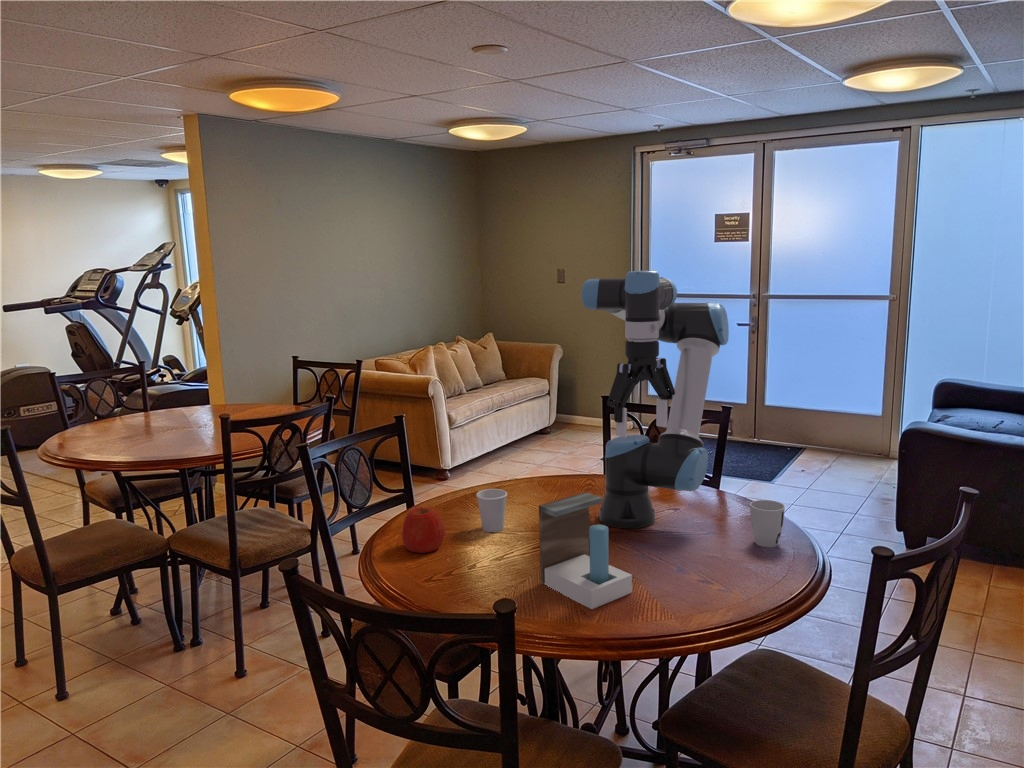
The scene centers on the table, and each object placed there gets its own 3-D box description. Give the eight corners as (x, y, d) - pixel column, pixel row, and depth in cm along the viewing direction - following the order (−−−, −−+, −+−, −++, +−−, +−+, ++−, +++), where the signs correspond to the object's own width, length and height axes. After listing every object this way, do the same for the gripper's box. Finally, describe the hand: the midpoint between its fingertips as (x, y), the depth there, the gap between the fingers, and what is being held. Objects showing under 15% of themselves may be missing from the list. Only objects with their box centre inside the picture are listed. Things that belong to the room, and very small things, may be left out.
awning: (540, 583, 165) (538, 505, 162) (586, 566, 174) (585, 491, 171) (556, 591, 161) (555, 511, 158) (602, 573, 169) (602, 497, 166)
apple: (453, 543, 190) (451, 503, 189) (431, 558, 181) (429, 517, 179) (417, 537, 195) (415, 499, 193) (394, 552, 185) (391, 512, 183)
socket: (544, 585, 164) (544, 568, 163) (584, 570, 171) (584, 554, 171) (591, 609, 152) (591, 591, 152) (632, 592, 160) (632, 574, 159)
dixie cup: (500, 521, 205) (499, 486, 203) (513, 530, 198) (512, 495, 196) (472, 526, 201) (471, 491, 200) (485, 536, 194) (483, 500, 192)
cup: (785, 550, 179) (787, 511, 178) (751, 548, 181) (752, 509, 179) (780, 538, 187) (782, 500, 186) (747, 536, 189) (748, 499, 187)
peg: (586, 593, 160) (585, 527, 157) (599, 588, 162) (598, 523, 159) (599, 600, 156) (598, 532, 154) (612, 594, 159) (612, 528, 156)
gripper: (615, 346, 156) (615, 443, 160) (691, 335, 171) (689, 425, 175) (590, 343, 162) (591, 437, 166) (666, 333, 177) (665, 420, 181)
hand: (642, 431), depth 170 cm, fingers open, 13 cm apart
